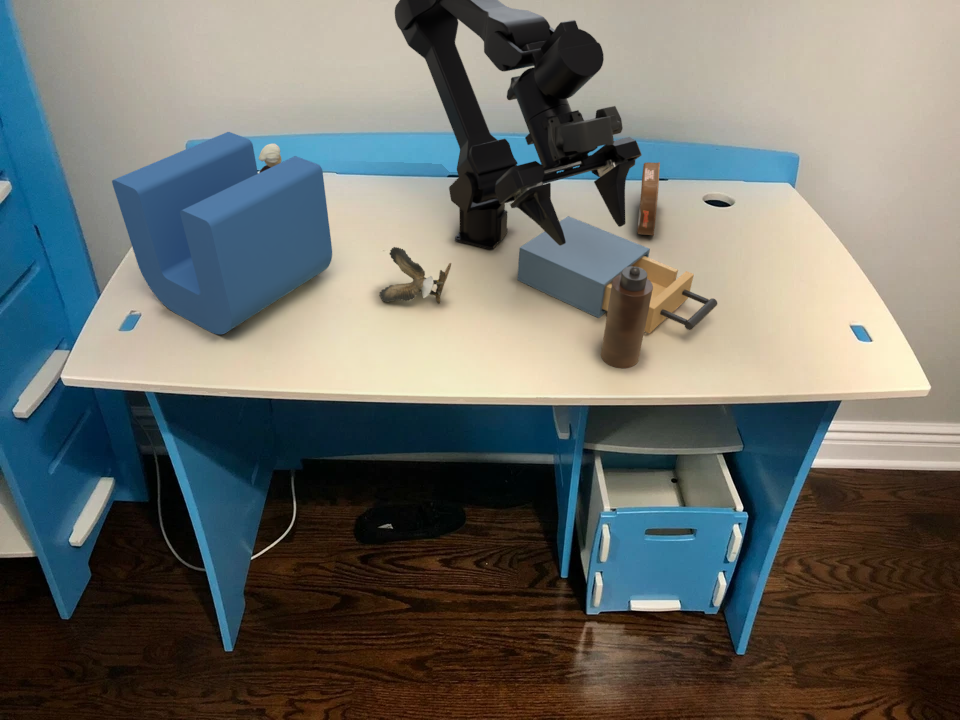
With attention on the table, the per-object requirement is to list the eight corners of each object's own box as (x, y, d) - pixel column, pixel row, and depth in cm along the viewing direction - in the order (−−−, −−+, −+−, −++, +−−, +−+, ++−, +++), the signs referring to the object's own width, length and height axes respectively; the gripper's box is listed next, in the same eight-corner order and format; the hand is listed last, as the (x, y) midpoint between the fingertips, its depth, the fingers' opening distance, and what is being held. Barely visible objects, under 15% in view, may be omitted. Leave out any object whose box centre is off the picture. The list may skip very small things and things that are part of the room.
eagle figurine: (451, 274, 108) (391, 256, 109) (452, 254, 101) (388, 234, 102) (435, 322, 106) (374, 304, 106) (435, 305, 99) (369, 285, 100)
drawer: (720, 311, 103) (726, 287, 101) (682, 348, 97) (688, 323, 94) (608, 263, 112) (611, 240, 109) (566, 295, 106) (568, 271, 103)
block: (336, 283, 108) (321, 165, 97) (238, 347, 97) (209, 222, 85) (248, 243, 116) (225, 130, 104) (148, 299, 104) (110, 178, 93)
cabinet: (644, 281, 110) (650, 248, 106) (598, 318, 103) (603, 284, 99) (564, 247, 117) (568, 215, 113) (517, 280, 110) (519, 247, 106)
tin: (652, 245, 118) (662, 196, 112) (632, 243, 118) (640, 194, 113) (655, 200, 129) (664, 154, 124) (637, 198, 129) (644, 152, 124)
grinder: (596, 362, 96) (609, 272, 87) (607, 340, 99) (621, 252, 91) (633, 372, 94) (650, 282, 86) (642, 350, 98) (660, 262, 89)
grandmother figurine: (308, 221, 121) (297, 146, 113) (291, 231, 119) (279, 155, 111) (273, 208, 125) (260, 133, 116) (256, 217, 122) (241, 142, 114)
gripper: (512, 99, 82) (563, 234, 82) (644, 71, 90) (690, 194, 90) (474, 142, 92) (519, 261, 92) (595, 113, 100) (637, 224, 100)
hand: (593, 234), depth 93 cm, fingers open, 9 cm apart
